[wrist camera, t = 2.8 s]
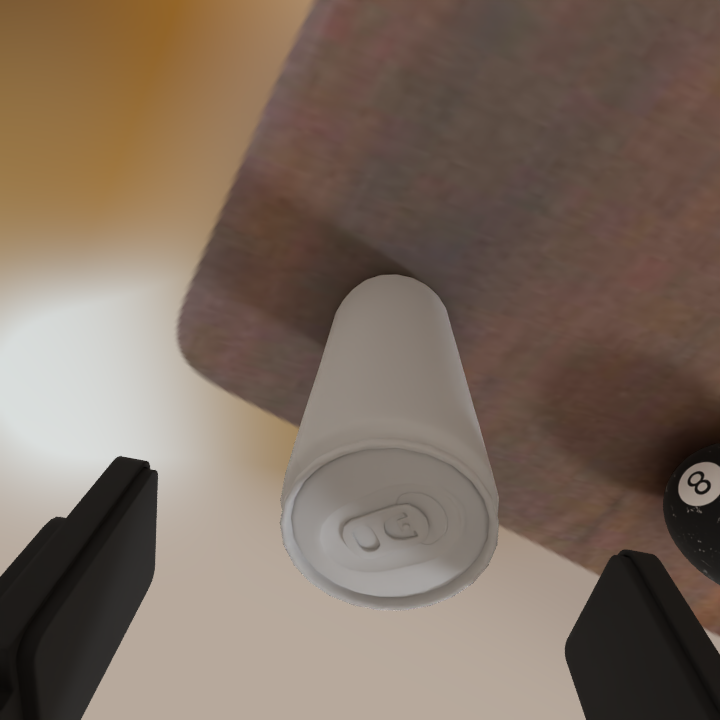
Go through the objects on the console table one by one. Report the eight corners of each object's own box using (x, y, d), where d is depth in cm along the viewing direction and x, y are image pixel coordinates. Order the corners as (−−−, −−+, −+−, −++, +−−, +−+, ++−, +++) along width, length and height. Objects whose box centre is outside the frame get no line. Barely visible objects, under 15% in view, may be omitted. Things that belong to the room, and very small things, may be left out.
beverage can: (465, 352, 22) (537, 581, 11) (363, 392, 23) (337, 636, 12) (421, 250, 20) (454, 401, 9) (313, 299, 21) (229, 485, 10)
